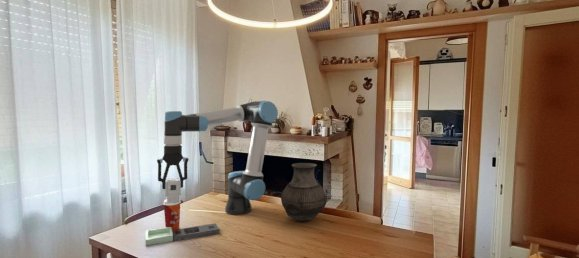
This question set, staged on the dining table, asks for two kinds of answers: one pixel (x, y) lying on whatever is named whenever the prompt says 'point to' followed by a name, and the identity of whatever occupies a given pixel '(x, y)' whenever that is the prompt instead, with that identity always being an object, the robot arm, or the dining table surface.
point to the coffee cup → (172, 214)
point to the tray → (159, 235)
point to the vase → (303, 194)
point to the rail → (202, 231)
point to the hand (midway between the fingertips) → (172, 195)
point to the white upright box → (173, 190)
